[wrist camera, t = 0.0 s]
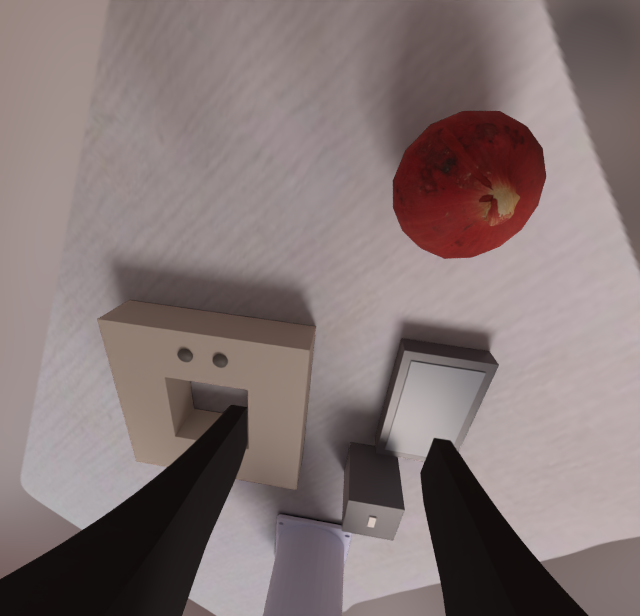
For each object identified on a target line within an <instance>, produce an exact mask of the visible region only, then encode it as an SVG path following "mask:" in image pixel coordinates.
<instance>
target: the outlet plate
mask: <svg viewBox="0 0 640 616" xmlns="http://www.w3.org/2000/svg"><path fill="white" fill-rule="evenodd" d="M97 320H98V324H99V327H100V331H101V335H102V338H103V342H104V346H105V349H106V353H107V357H108V360H109V364H110V368H111V371H112V375H113V378H114V382H115V386H116V389H117V393H118V397H119V400H120V404H121V408H122V411H123V415H124V418H125V422H126V426H127V429H128V433H129V437H130V440H131V444H132V448H133V451H134V455H135V459H136V461H137V462H143V463H148V464H154V465H159V466H165V467H168V466H169V465H170V464H172V463H173V462H174V461H175V460H176V459H177V458H178V457H179V456H181V455H182V454H183V453H184V452H185V451H186V450H187V449H188V448H189V447H190V446H191V445H192V444H193V443H194V442H195V441H196V440H197V439H198V438H200V437H201V436H202V435H203V434H204V433H205V432H206V431H207V430H208V429H209V428H210V427H211V425H212V424H213V423H214V422H215V421H216V420H217V419H218V418H219V417H220V416H221V415H222V414H223V413H217V412H211V411H205V410H199V409H194V405H193V398H192V390H191V382H190V381H194V382H200V383H206V384H213V385H219V386H225V387H232V388H238V389H244V390H248V417H247V435H248V444H247V447H246V450H245V454H244V457H243V460H242V463H241V466H240V469H239V472H238V474H237V476H236V479H238V480H243V481H249V482H254V483H260V484H266V485H271V486H277V487H282V488H288V489H294V490H296V489H297V484H298V479H299V474H300V469H301V463H302V458H303V449H304V439H305V429H306V419H307V409H308V400H309V390H310V380H311V370H312V360H313V351H314V341H315V331H316V327H314V326H307V325H300V324H293V323H286V322H279V321H272V320H265V319H258V318H251V317H244V316H237V315H230V314H223V313H216V312H209V311H202V310H195V309H188V308H181V307H174V306H167V305H160V304H153V303H146V302H139V301H131V300H129V301H127V302H125V303H124V304H122V305H120V306H118V307H117V308H115V309H113V310H112V311H110V312H108V313H107V314H105V315H103V316H102V317H100V318H98V319H97Z"/></svg>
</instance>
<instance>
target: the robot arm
mask: <svg viewBox="0 0 640 616" xmlns="http://www.w3.org/2000/svg"><path fill="white" fill-rule="evenodd" d="M247 444H248V435H247V407H242V406H236V405H231V406H229V407H228V408H227V410H226V411H225V412H224V413H223V414H222V415H221V416H220V417H219V418H218V419H217V420H216V421H215V422H214V423H213V424H212V425H211V427H210V428H209V429H208V430H207V431H206V432H205V433H204V434H203V435H202V436H201V437H200V438H198V439H197V440H196V441H195V442H194V443H193V444H192V445H191V446H190V447H189V448H188V449H187V450H186V451H185V452H184V453H183V454H182V455H181V456H179V457H178V458H177V459H176V460H175V461H174V462H173V463H172V464H170V465H169V466H168V467H167V468H166V469H165V470H164V471H162V472H161V473H160V474H159V475H158V476H156V477H155V478H154V479H153V480H151V481H150V482H149V483H148V484H146V485H145V486H144V487H143V488H141V489H140V490H139V491H138V492H136V493H135V494H134V495H132V496H131V497H129V498H128V499H127V500H125V501H124V502H123V503H121V504H120V505H119V506H117V507H116V508H114V509H113V510H112V511H110V512H109V513H107V514H106V515H104V516H103V517H102V518H100V519H99V520H97V521H96V522H94V523H93V524H91V525H89V526H88V527H86V528H85V529H83V530H82V531H80V532H79V533H77V534H75V535H74V536H72V537H71V538H69V539H68V540H66V541H65V542H63V543H62V544H60V545H58V546H57V547H55V548H53V549H52V550H50V551H48V552H47V553H45V554H43V555H42V556H40V557H38V558H36V559H35V560H33V561H31V562H29V563H28V564H26V565H24V566H23V567H21V568H19V569H17V570H16V571H14V572H12V573H11V574H9V575H7V576H5V577H3V578H1V579H0V616H182V614H183V611H184V608H185V605H186V602H187V600H188V597H189V594H190V591H191V588H192V585H193V582H194V579H195V576H196V573H197V570H198V568H199V565H200V562H201V559H202V556H203V553H204V550H205V548H206V545H207V543H208V540H209V538H210V535H211V533H212V531H213V528H214V526H215V524H216V522H217V519H218V517H219V515H220V513H221V510H222V508H223V506H224V503H225V501H226V499H227V497H228V494H229V492H230V490H231V488H232V485H233V483H234V481H235V479H236V476H237V474H238V472H239V469H240V466H241V463H242V460H243V457H244V454H245V450H246V447H247ZM420 474H421V484H422V493H423V502H424V507H425V512H426V517H427V521H428V526H429V531H430V535H431V540H432V544H433V549H434V553H435V558H436V562H437V567H438V571H439V576H440V581H441V587H442V592H443V598H444V606H445V613H446V616H588V615H587V614H586V613H585V612H584V610H583V609H582V608H581V607H580V606H579V605H578V604H577V603H576V602H575V601H574V600H573V599H572V598H571V597H570V596H569V595H568V593H566V591H565V590H564V589H563V588H562V587H561V586H560V585H559V584H558V583H557V581H556V580H555V579H554V578H553V577H552V576H551V575H550V574H549V572H548V571H547V570H546V569H545V568H544V567H543V566H542V564H541V563H540V562H539V561H538V560H537V558H536V557H535V556H534V555H533V554H532V552H531V551H530V550H529V549H528V548H527V546H526V545H525V544H524V543H523V541H522V540H521V539H520V538H519V536H518V535H517V534H516V533H515V531H514V530H513V529H512V527H511V526H510V525H509V524H508V522H507V521H506V520H505V518H504V517H503V516H502V514H501V513H500V512H499V510H498V509H497V508H496V506H495V505H494V503H493V502H492V501H491V499H490V498H489V496H488V495H487V493H486V492H485V491H484V489H483V488H482V486H481V485H480V484H479V482H478V481H477V479H476V478H475V476H474V475H473V473H472V472H471V470H470V469H469V467H468V466H467V464H466V463H465V461H464V460H463V458H462V457H461V455H460V454H459V452H458V451H457V449H456V448H455V446H454V445H453V443H452V442H451V440H445V439H439V438H434V439H433V441H432V444H431V447H430V449H429V452H428V454H427V457H426V460H425V462H424V465H423V468H422V470H421V473H420ZM352 534H353V533H349V532H343V531H342V525H337V524H331V523H326V522H320V521H315V520H309V519H304V518H299V517H293V516H288V515H282V514H280V515H278V516H277V525H276V544H275V561H274V566H273V571H272V575H271V580H270V585H269V589H268V594H267V599H266V603H265V608H264V613H263V616H342V601H343V574H344V565H345V561H346V557H347V553H348V550H349V546H350V542H351V538H352Z"/></svg>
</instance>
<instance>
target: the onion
mask: <svg viewBox="0 0 640 616" xmlns="http://www.w3.org/2000/svg"><path fill="white" fill-rule="evenodd" d="M545 180H546V171H545V163H544V156H543V148H542V147H541V145H540V144H539V143H538V141H537V140H536V138H535V137H534V135H533V134H532V133H531V131H530V130H529V128H528V127H527V126H525V125H524V124H522V123H520V122H519V121H517V120H515V119H513V118H511V117H510V116H508V115H506V114H504V113H502V112H500V111H462V112H459V113H457V114H455V115H452V116H450V117H448V118H445V119H443V120H440V121H438V122H436V123H433V124H431V125H430V126H429V127H428V128H427V129H426V130H425V131H424V132H423V133H422V134H421V135H420V136H419V137H418V138H417V139H416V140H415V141H414V142H413V143H412V144H411V145H410V146H409V147H408V148H407V149H406V150H405V153H404V155H403V158H402V160H401V162H400V165H399V167H398V170H397V172H396V174H395V177H394V179H393V209H394V211H395V214H396V216H397V219H398V221H399V224H400V226H401V229H402V231H403V232H404V233H405V234H406V235H407V236H408V237H409V238H410V239H411V240H412V241H413V242H415V243H416V244H417V245H418V246H419V247H420V248H422V249H423V250H426V251H428V252H430V253H433V254H435V255H437V256H440V257H442V258H444V259H447V258H471V257H474V256H477V255H479V254H482V253H485V252H487V251H490V250H492V249H495V248H497V247H500V246H501V245H502V244H504V243H505V242H506V241H507V240H509V239H510V238H511V237H513V236H514V235H515V234H516V233H518V232H519V231H520V230H522V228H523V227H524V225H525V224H526V222H527V221H528V219H529V218H530V216H531V215H532V213H533V212H534V210H535V209H536V207H537V206H538V204H539V200H540V197H541V193H542V189H543V186H544V183H545Z"/></svg>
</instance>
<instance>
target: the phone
mask: <svg viewBox="0 0 640 616" xmlns="http://www.w3.org/2000/svg"><path fill="white" fill-rule="evenodd" d="M498 366H499V365H498V363H497V362H496V360H495V359H494V357H493V356H492V354H491V353H490V351H483V350H476V349H470V348H463V347H457V346H450V345H443V344H437V343H430V342H423V341H417V340H410V339H403V338H402V339H401V343H400V346H399V350H398V354H397V357H396V361H395V365H394V369H393V372H392V376H391V380H390V384H389V387H388V391H387V395H386V399H385V402H384V406H383V410H382V413H381V417H380V421H379V425H378V428H377V432H376V436H375V447H376V453H377V454H383V455H388V456H394V457H400V458H405V459H411V460H416V461H422V462H425V460H426V457H427V454H428V452H429V449H430V447H431V444H432V441H433V439H434V438H439V439H445V440H451V442H452V443H453V445H454V446H455V448H456V449H457V451H458V452H459V450H460V448H461V446H462V444H463V441H464V439H465V437H466V435H467V433H468V431H469V428H470V426H471V424H472V422H473V420H474V418H475V416H476V413H477V411H478V409H479V407H480V405H481V403H482V400H483V398H484V396H485V394H486V392H487V390H488V388H489V385H490V383H491V381H492V379H493V377H494V375H495V372H496V370H497V368H498Z"/></svg>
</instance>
